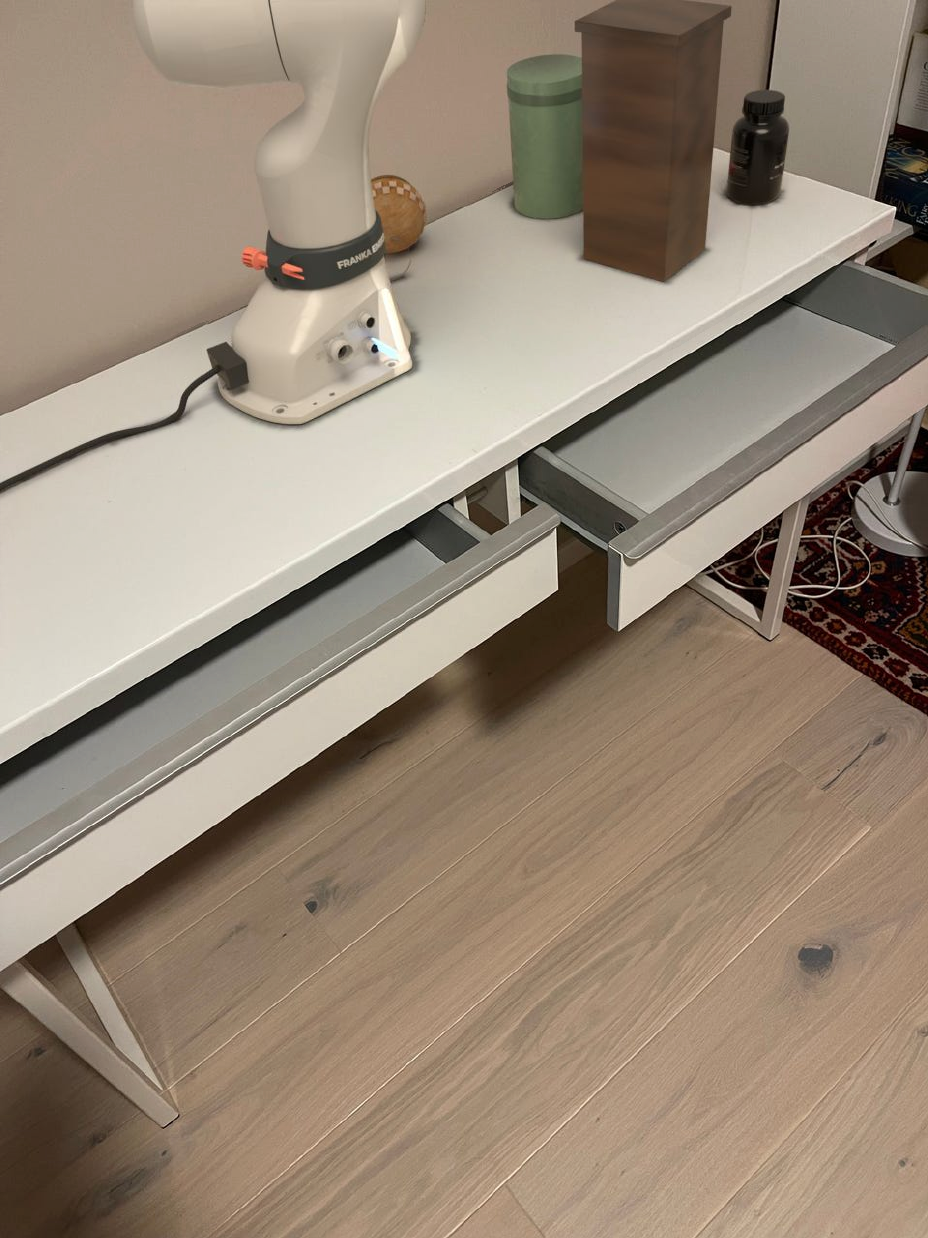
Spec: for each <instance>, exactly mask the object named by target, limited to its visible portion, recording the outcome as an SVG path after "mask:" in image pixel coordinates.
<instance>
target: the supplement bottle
mask: <svg viewBox="0 0 928 1238" xmlns="http://www.w3.org/2000/svg"><path fill="white" fill-rule="evenodd" d="M785 100H786V96H785V93H782V91H779V90H773V89H759V90H753V91H750V92H748V93H746V94H745V95H744V97H743V105H742V108H741V114H742V116H740V117H739V118H738V119H737V120H736V121H735V123H734V124H733V127H732V131H731V140H730V141H731V142H730V150H729V161H728V172H727V181H726V194H727V197H728V198H729V199H730V200H731V201H733V202H735V203H738V204H742V205H748V206H750V205H751V206H757V205H758V206H759V205H764V204H768V203H770V202H773V201H775V200H776V199H777V198H778V197H779V195H780V194H781V189H782V185H783V177H784V170H785V162H786V158H787V157H786V156H787V148H788V142H789V135H790V125H789V122H788V120H787V119H786V118H785V116H783V114H784V113H785Z"/></svg>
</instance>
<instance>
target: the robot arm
mask: <svg viewBox="0 0 928 1238" xmlns="http://www.w3.org/2000/svg"><path fill="white" fill-rule="evenodd" d="M132 1H133V2H132V16H133V21H134V22H133V23H134V29H135V33H136V35H137V38H138V41H139V44H140V46H141V49H142V50H143V52H144V54H145V56H146V57H147V59H148V60H149V62H150V63H151V65H152V66H153V67H154V68H155V69H156V71H157V72H158V73H159V74H160V75H161V76H162V77H163V78H164V79H166V80H167V82H170V84H173V85H176V86H183V87H191V88H198V89H199V88H201V89H213V90H230V89H238V88H247V87H255V86H256V87H257V86H264V85H272V84H282V83H290V82H291V83H295V84H299V85H300V86H301V87H302V89H303V94H304V95H303V96H304V99H303V101H302V102H301V103H300V105H298V107H296V109H294V110H293V111H291V112H290V113H289V114H287V115H286V116H284V117H283V118H282V119H281V120H278V121H277V122H276V123H275V124H274V125H272V126H271V128H269V130H267V131H266V132H265V134H264V135H263V136H262V138H261V139H260V141H259V143H258V144H257V147H256V150H255V154H254V164H253V165H254V171H255V176H256V180H257V184H258V188H259V193H260V197H261V201H262V206H263V208H264V212H265V217H266V221H267V225H268V230H267V234H266V241H265V242H266V243H265V251H264V250H262V249H258V248H256V247H254V246H251V245H250V246H249V245H248V246H246V247H245V248H244V249H243V250H242V252H241V253H242V254H241V262H242V265H244V266H245V267H248V268H253V269H254V270H256V271H261V270H263V269H264V276H263V279H262V280H261V282H260V284H259V285H258V287H257V289H256V291H255V292H254V294H253V296H252V297H251V300H250V301H249V303H248V305H247V306H246V308H245V309H244V312H242V315H241V316H240V317H239V319H238V321H237V322H236V324H235V326H234V327H233V329H232V332H231V339H230V340H231V341H230V343H228V342H227V341H224V342H222V343H219V344H216V345H214V346H211V347H208V348H207V349H206V353H207V357H208V359H209V363H210V366H211V369H209V370H208V371H206V372H205V373H203V374H201V375H200V376H199V377H197V378H196V379H195V380H193V381H192V382H191V383H190V384H189V385H188V386H187V387H186V388H185V390H184V391H182V394H181V396H180V399H179V403H178V407H177V410H176V411H175V412H173V413H172V414H171V415H169V416H168V417H166V418H164V419H162V420H160V421H157V422H154V423H151V424H147V425H143V426H137V427H131V428H125V429H121V430H116V431H113V432H109V433H106V434H103V435H101V436H98V437H96V438H94V439H90V440H88V441H86V442H83V443H82V444H79V445H77V446H75V447H73V448H71V449H69V450H66V451H63V452H62V453H60V454H57V455H56V456H54V457H52V458H50V459H47V460H45V461H43V462H41V463H39V464H37V465H35V466H33V467H30V468H28V469H26V470H23V471H22V472H20V473H18V474H16V475H13V476H11V477H9V478H7V479H5V480H3V481H1V482H0V492H1V491H3V490H5V489H7V488H9V487H11V486H14V485H16V484H17V483H20V482H22V481H24V480H26V479H28V478H31V477H32V476H35V475H37V474H39V473H41V472H43V471H45V470H48V469H49V468H52V467H53V466H55V465H58V464H60V463H62V462H64V461H66V460H68V459H70V458H73V457H74V456H77V455H78V454H81V453H83V452H86V451H87V450H90V449H92V448H95V447H97V446H100V445H102V444H105V443H107V442H110V441H112V440H115V439H119V438H124V437H129V436H134V435H139V434H143V433H147V432H150V431H154V430H157V429H160V428H164V427H166V426H169V425H171V424H172V423H174V422H176V421H177V420H178V419H180V418H181V417H182V415H184V413H185V411H186V408H187V403H188V400H189V397H190V396H191V395H192V394H193V392H194V391H195V390H196V389H198V388H199V387H200V386H201V385H202V384H204V383H205V382H207V381H208V380H210V379H211V378H213V377H214V376H216V375H217V376H218V377H217V380H216V381H217V386H218V391H219V393H220V396H222V398H223V399H224V400H225V401H226V402H227V403H228V404H230V405H231V406H233V407H234V408H236V409H238V410H240V411H241V412H243V413H246V414H247V415H250V416H252V417H254V418H258V419H260V420H263V421H267V422H270V423H276V424H283V425H301V424H302V425H303V424H306V423H308V422H309V421H311V420H314V419H315V418H318V417H320V416H322V415H324V414H326V413H327V412H330V411H331V410H334V409H335V408H338V407H340V406H342V405H343V404H344V403H345V404H346V403H347V402H350V401H351V400H353V399H355V398H357V397H359V396H360V395H363V394H365V393H367V392H369V391H371V390H373V389H374V388H378V386H380V385H383V384H384V383H386V382H388V381H390V380H392V379H395V378H396V377H399V376H400V375H402V374H404V373H406V372H408V371H409V370H411V369H412V367H413V360H412V357H411V354H410V352H409V349H410V346H411V342H412V337H411V332H410V329H409V328H408V326H407V324H406V322H405V320H404V317H403V315H402V312H401V311H400V308H399V306H398V303H397V299H396V297H395V294H394V290H393V286H392V283H391V281H390V279H391V278H390V275H389V272H388V269H387V263H386V258H385V254H386V253H385V252H386V245H385V237H384V233H383V228H382V223H381V218H380V215H379V213H378V212H377V211H376V210H375V205H374V199H373V191H372V183H371V179H372V174H371V164H370V163H371V162H370V133H371V132H370V131H371V125H372V120H373V116H374V112H375V109H376V106H377V104H378V101H379V100H380V96H381V94H382V92H383V91H384V89H385V87H386V85H387V84H388V82H389V81H390V79H391V77H392V76H393V75H394V74H395V73H396V71H397V70H398V69H399V68H400V67H401V66H402V65H403V64H404V63H405V62H406V61H407V60H408V59H409V58H410V57H411V55H412V53H413V52H414V50H415V48H416V47H417V45H418V43H419V40H420V39H421V36H422V32H423V30H424V27H425V26H424V22H425V14H426V0H132ZM423 26H424V27H423ZM230 344H231V345H230Z"/></svg>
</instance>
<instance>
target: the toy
mask: <svg viewBox="0 0 928 1238" xmlns="http://www.w3.org/2000/svg"><path fill="white" fill-rule="evenodd" d="M371 183H372V191H373V199H374V205H375V210H376V211H377V212H378V213H379V215H380V218H381V223H382V228H383V233H384V237H385V245H386V252H385V254H387V253H388V254H392V253H393V254H395V253H398V252H403V251H405V250H408V252H409V253H411V252H410V247H411V246H412V245H413V244H416V243H417V242H418V241H419V239H420V238H421V237H420V236H421V234H423V233H424V230H425V227H426V224H427V206H426V203H425V201H424V200H423V198H422V196H421V194H420V192H419V191H418V190H417V189H416V187H414V186H413V185H412V184H411V183H410V182H409V181H407V180H406V179H405V178H403V177H401V176H398V175H394V174H382V175H378V176H375V177H373V178H371ZM409 258H410V260H409V263H408V266H407V268H406V270H405V271H404V272H402V274H400V275H399V276H396V277H394V278H389V279H390V282H393V281H396V280H398V279H400V278H401V277H403V276H404V275H405V274H406V273H407V271H408V270H409V269H410V265H411V261H412V259H411V258H412V257H411V256H410V257H409Z"/></svg>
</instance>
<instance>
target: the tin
mask: <svg viewBox="0 0 928 1238" xmlns="http://www.w3.org/2000/svg"><path fill="white" fill-rule="evenodd" d="M506 95H507V100H508V101H507V102H508V117H509V132H510V135H509V136H510V151H511V166H512V167H511V168H512V185H513V200H514V202H513V203H514V208H515V210H516V211H517V212H518V213H520V214H521V215H523V216H525V217H528V218H533V219H541V220H542V219H543V220H550V219H553V220H554V219H560V218H566V217H569V216H572V215H575V214H577V213H579V212H581V211H583V147H582V57H580V56H577V55H571V54H563V53H562V54H560V53H559V54H558V53H557V54H556V53H555V54H554V53H552V54H542V55H536V56H531V57H527V58H524V59H521V60H519V61H516V62H514V63H513V64H511V65H510V66H509V67H508V68H507V69H506Z"/></svg>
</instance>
